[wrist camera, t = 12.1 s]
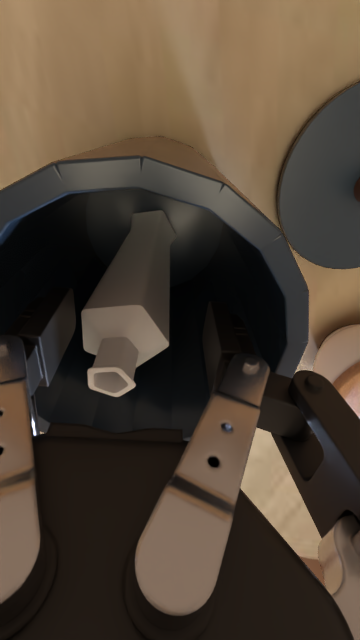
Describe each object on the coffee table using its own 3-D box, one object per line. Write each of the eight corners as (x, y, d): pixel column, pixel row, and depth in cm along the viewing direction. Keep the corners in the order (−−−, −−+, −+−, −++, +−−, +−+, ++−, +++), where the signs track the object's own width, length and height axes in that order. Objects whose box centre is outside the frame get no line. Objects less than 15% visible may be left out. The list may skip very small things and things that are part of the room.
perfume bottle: (190, 220, 23) (182, 369, 12) (166, 263, 26) (140, 418, 15) (136, 191, 22) (71, 327, 11) (116, 239, 25) (47, 389, 13)
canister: (83, 285, 28) (-7, 448, 14) (72, 123, 21) (-131, 120, 7) (215, 297, 29) (256, 460, 15) (246, 147, 22) (378, 185, 8)
